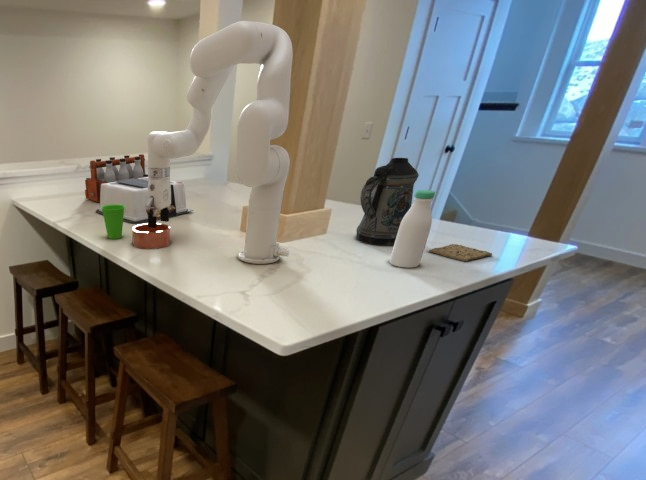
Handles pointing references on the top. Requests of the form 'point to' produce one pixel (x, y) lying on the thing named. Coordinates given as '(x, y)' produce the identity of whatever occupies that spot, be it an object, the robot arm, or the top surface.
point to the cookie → (460, 252)
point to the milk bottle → (413, 231)
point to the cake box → (139, 198)
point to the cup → (113, 220)
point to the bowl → (151, 236)
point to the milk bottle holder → (112, 173)
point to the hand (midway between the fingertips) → (158, 224)
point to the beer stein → (386, 202)
